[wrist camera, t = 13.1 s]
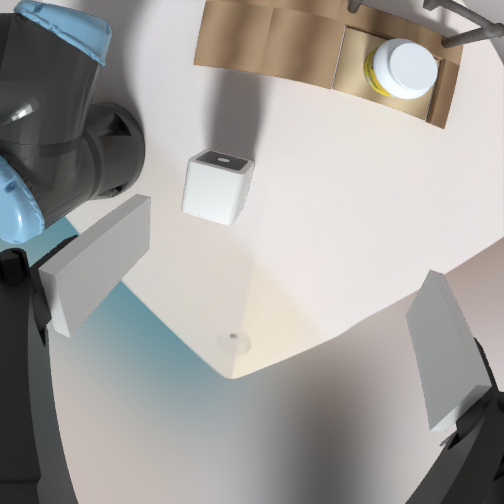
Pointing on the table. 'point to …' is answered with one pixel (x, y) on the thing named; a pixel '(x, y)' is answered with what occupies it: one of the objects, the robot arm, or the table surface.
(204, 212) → the security camera
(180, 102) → the table surface
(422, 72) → the pill bottle
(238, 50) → the shelf board
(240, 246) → the table surface
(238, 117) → the table surface
